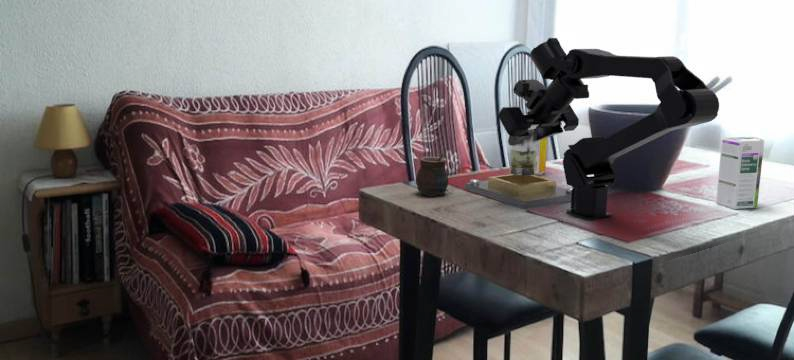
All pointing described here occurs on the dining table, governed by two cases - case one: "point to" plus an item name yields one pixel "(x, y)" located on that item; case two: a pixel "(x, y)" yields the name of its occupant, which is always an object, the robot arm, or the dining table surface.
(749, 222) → the dining table surface
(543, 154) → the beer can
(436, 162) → the mate gourd
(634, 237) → the dining table surface
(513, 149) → the glass mug
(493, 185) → the grey plate with frame
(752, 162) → the syrup box
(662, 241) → the dining table surface
